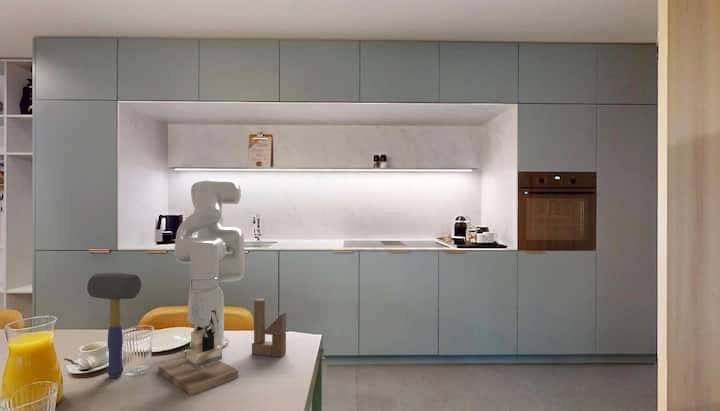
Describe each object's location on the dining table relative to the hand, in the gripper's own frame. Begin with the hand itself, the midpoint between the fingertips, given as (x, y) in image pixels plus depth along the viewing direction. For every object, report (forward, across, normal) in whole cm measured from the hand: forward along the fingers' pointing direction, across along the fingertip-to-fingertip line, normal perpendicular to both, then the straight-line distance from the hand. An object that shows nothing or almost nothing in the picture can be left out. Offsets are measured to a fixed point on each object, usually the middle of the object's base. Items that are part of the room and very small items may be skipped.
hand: (204, 347), depth 112 cm
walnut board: (+9, -4, 0) cm, 10 cm away
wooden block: (+9, -2, +23) cm, 25 cm away
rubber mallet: (+9, -22, -16) cm, 28 cm away
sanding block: (+4, 0, 0) cm, 4 cm away
